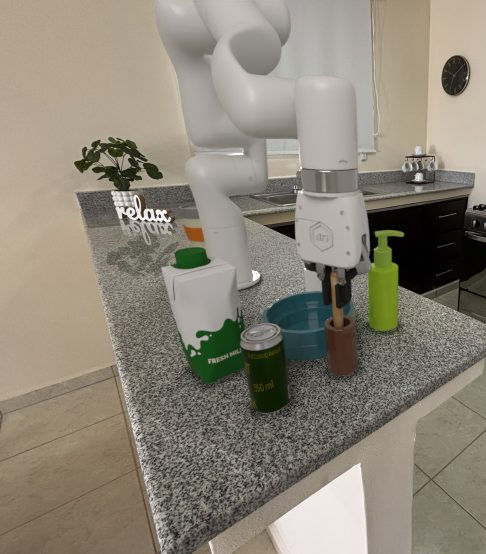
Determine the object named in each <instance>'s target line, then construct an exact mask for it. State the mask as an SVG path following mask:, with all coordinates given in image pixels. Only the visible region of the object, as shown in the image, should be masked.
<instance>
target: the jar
mask: <svg viewBox="0 0 486 554" xmlns="http://www.w3.org/2000/svg"><path fill="white" fill-rule="evenodd" d="M303 262H304V261H303ZM303 264H304V268H303V276H304V277H303V279H304V286H305V292H311V291H322V282H321V281H320V280H319V279H318V278H317V273H316V272H315V271H314V269H313V268H312V267H311V265H309V264H307V263H305V262H304V263H303ZM334 270H337V267H334Z"/></svg>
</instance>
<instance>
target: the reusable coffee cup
mask: <svg viewBox="0 0 486 554" xmlns="http://www.w3.org/2000/svg"><path fill="white" fill-rule="evenodd" d="M178 212H179V213H178V214H179V217H180V218H181V220H182V223H183V224H182V227H183V230H184V232H185V235H186V237H187V239H188V241H190V244H191V247H201V248H204V249H205V250H206V246H205V241H204V237H203V232H202V227H201V223H200V218H199V214H198V210H197V206H196V203H195V202H192V203H190V202H189V203H186V204H185V203H184V204H182V205H179V206H178ZM206 254H207V251H206ZM207 257H208V255H207Z"/></svg>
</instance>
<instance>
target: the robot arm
mask: <svg viewBox="0 0 486 554" xmlns="http://www.w3.org/2000/svg"><path fill="white" fill-rule="evenodd" d="M154 17H155V23H156V27H157V31H158V35H159V38H160V40H161V43H162V46H163V48H164V50H165V53H166V54H167V56H168V58H169V60H170V62H171V65H172V67H173V69H174V72H175V75H176V79H177V84H178V90H179V96H180V103H181V108H182V115H183V119H184V120H183V121H184V125H185V131H186V134H187V137H188V139H189V141H190V142H191V143H192V144H193V145H194V146H196V147H198V148H201V149H211V150H219V149H220V150H226V149H227V150H228V149H229V150H231V149H233V150H234V149H238V150H239V149H241V150H242V153H205V154H204V153H203V154H197V155H194V156H191V157H190V158H188V159H187V160H186V162H185V164H184V174H185V175H184V176H185V178H186V182H187V184H188V186H189V189H190V191H191V194H192V197H193V199H194V203H196V206H197V210H198V214H199V218H200V223H201V227H202V232H203V237H204V241H205V246H206V251H207V255H208V256H207V258H208V257H211V256H216V257H218V258H220V259H222V260H223V261H226V262H228V263H229V264H230V265H232V266H234V267H235V268H236V277H237V288H238V291H240V290H243V289H244V290H245V289H248V288H250V287H253V286H254V285H256V284H257V283H259V282H260V280H261V275H260V273H259V272H258V271H256V270H254V269H253V264H252V258H251V251H250V245H249V240H248V239H249V238H248V234H247V228H246V221H245V215H244V213H243V212H242V210H241V208H240V207H238V206H237V204H235V203H234V202H233V201H232V200H231V199H230V198H231V197H234V196H241V195H252V194H259V193H262V192H264V191H265V190H266V189H267V188H268V184H269V164H268V149H267V140H297V145H298V157H299V168H300V169H298V170H297V171H296V173H295V174H296V179H297V180H298V181H301V190H298V191H297V194H296V195H297V196H296V200H295V210H294V235H295V237H294V238H295V249H296V254H297V256H298V257H299V258H300V260H301V261H302V262H305V263H307V264H309V265H311V267H312V268H313V269H314V271H315V272H316V273H317V278H318V279H319V280H320V281H321V282H322V295H323V303H324V305H327V306H328V305H330V304H331V303H332V291H331V276H330V275H331V272H332V271H333V270H334V267H337V271H338V283H337V284H336V285H335V299H336V307H337V308H339V309H341V308H342V307H344V306H345V305H346V304H348V303H349V302H350V301H352V298H353V293H352V291H353V290H352V281H353V280H354V279H355V277H357V276H361V275H366V274H368V272H370V271H371V270H372V265H371V264H372V262H371V260H370V253H371V241H370V227H369V219H368V217H369V216H368V213H367V207H366V202H365V198H364V197H365V196H364V194H363V192H360V183H359V182H360V181H359V149H358V148H359V145H358V144H359V143H358V141H359V140H358V139H359V138H358V107H357V106H358V105H357V91H356V88H355V86H354V84H353V83H352V81H350V80H348V79H346V78H343V77H339V76H333V75H332V76H331V75H320V74H319V75H317V74H315V75H314V74H313V75H304V76H301V77H298V79H294V78H288V77H280V76H272V75H270V74H271V73H272V72H273V71H274V70H276V68H277V67H278V65H279V63H280V61H281V59H282V58H281V57H282V52H283V51H282V49H283V47H284V46H285V45H286V44H287V42H288V40H289V38H290V36H291V32H292V31H291V30H292V18H291V13H290V10H289V6H288V5H287V2H286V1H285V0H156V2H155V6H154ZM210 56H211V57H210Z"/></svg>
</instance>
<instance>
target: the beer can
mask: <svg viewBox="0 0 486 554" xmlns="http://www.w3.org/2000/svg"><path fill="white" fill-rule="evenodd" d="M240 347H241V353H242V358H243V363H244V368H243V369H244V373H245V378H246V382H247V388H248V394H249V400H250V403H251V407H252V409H253V410H254V411H255V412H256V413H259V414H263V415H265V414H266V415H269V414H273V413H277V412H279V411H282V410H283V409H284V408H286V407H287V405H289V403H290V401H291V399H292V391H291V382H290V377H289V370H288V363H287V359H286V354H285V346H284V339H283V334H282V333H281V331H280V327H279V326H277V325H275V324H271V323H263V324H262V323H258V324H254V325H251V326H249V327H247V328H245V330H244V331H243V332H242V333H241V341H240Z"/></svg>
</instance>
